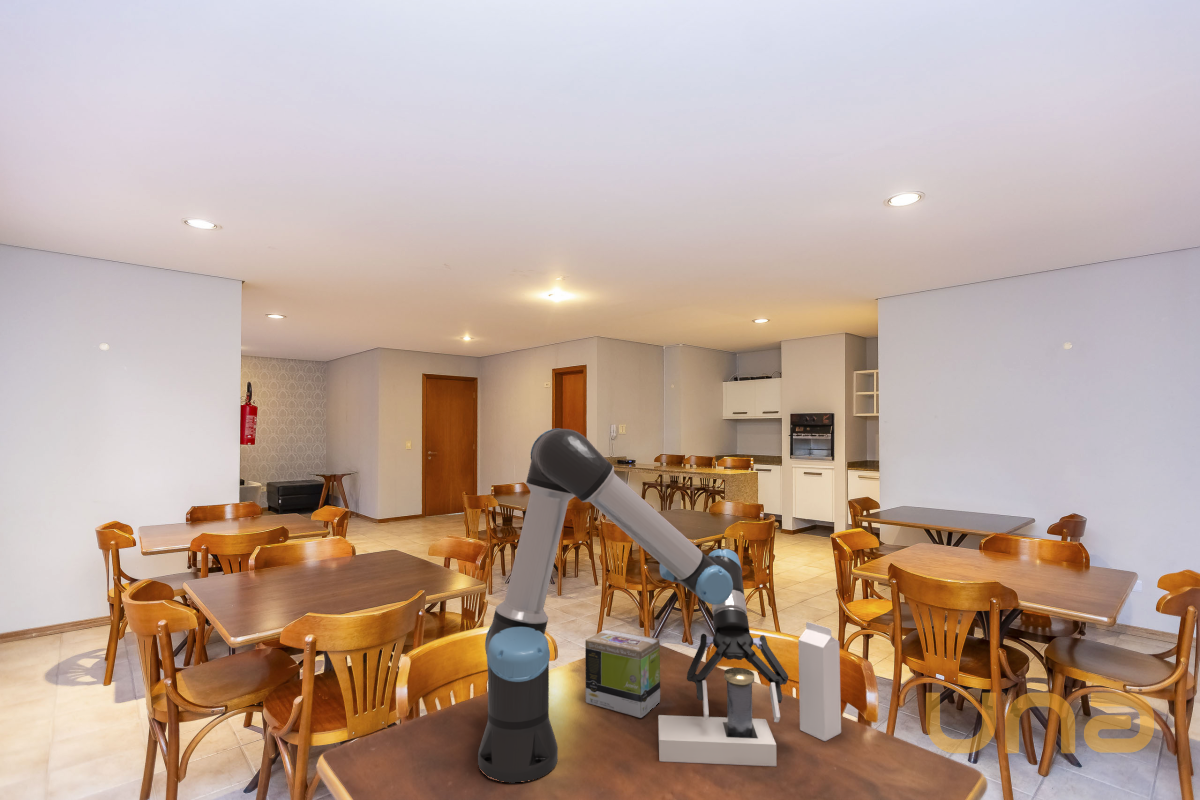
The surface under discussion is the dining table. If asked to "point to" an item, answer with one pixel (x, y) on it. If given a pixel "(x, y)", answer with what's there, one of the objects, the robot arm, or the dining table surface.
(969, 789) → the dining table surface
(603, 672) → the tea box
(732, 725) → the grey capped cylinder
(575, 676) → the dining table surface
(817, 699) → the milk
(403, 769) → the dining table surface
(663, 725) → the housing block
